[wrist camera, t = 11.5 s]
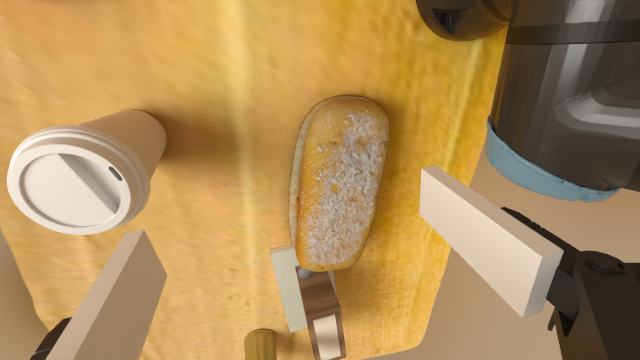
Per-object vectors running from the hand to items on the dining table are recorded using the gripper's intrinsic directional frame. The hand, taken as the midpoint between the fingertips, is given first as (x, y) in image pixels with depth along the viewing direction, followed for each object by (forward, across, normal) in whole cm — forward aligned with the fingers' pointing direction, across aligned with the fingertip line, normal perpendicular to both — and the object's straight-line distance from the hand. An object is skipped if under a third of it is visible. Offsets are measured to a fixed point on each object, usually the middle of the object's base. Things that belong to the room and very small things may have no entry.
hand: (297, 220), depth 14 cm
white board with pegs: (+27, +1, -33) cm, 42 cm away
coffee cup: (+27, -16, -1) cm, 31 cm away
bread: (+27, +7, -13) cm, 31 cm away
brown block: (+26, +2, -33) cm, 42 cm away
